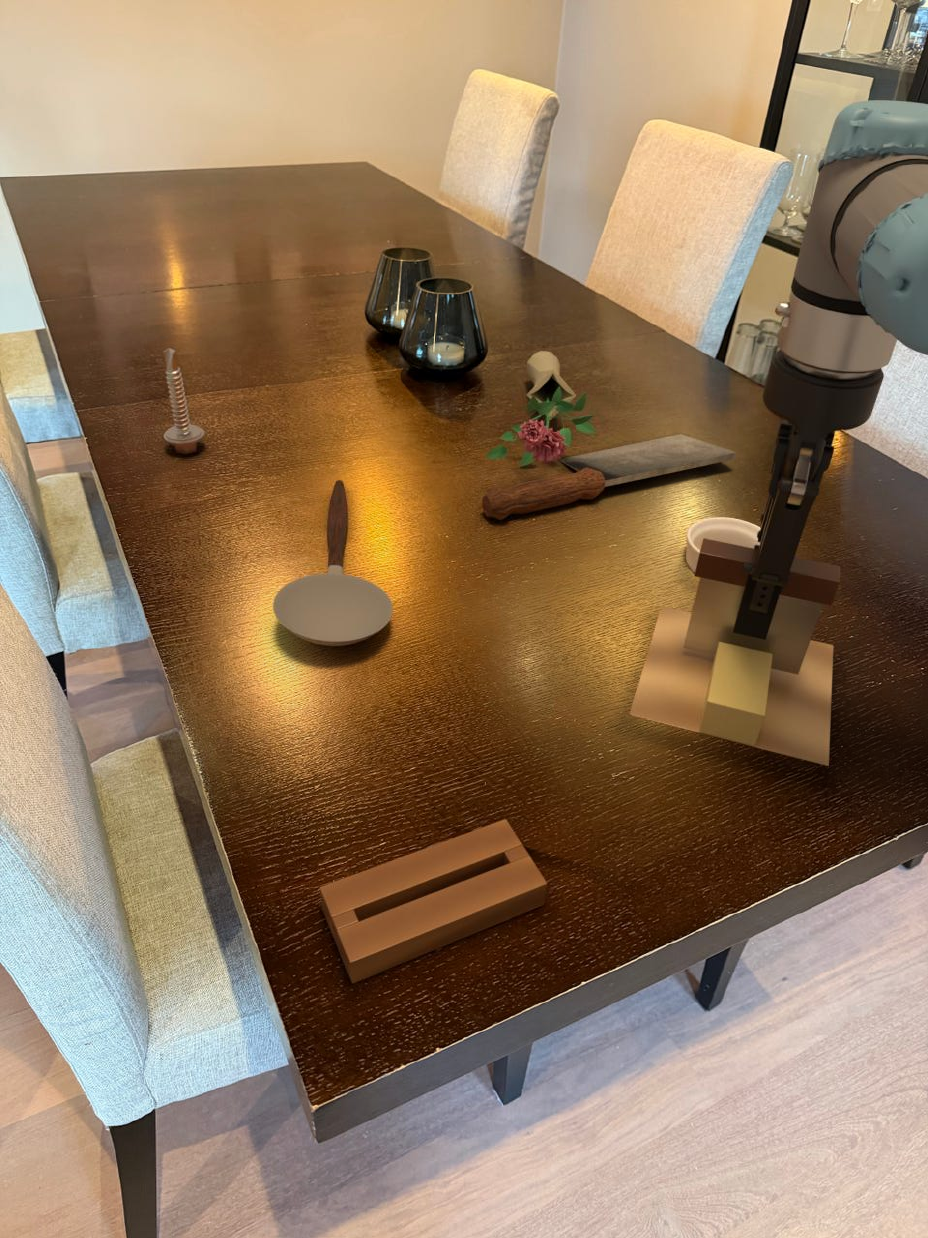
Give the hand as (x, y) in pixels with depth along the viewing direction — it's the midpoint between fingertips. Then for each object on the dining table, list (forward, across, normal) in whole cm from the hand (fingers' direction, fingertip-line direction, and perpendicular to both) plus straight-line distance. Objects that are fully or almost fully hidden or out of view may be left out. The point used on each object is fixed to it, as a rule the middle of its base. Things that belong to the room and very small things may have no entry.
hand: (751, 622), depth 77 cm
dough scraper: (+4, 0, 0) cm, 4 cm away
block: (+7, +32, -17) cm, 36 cm away
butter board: (+7, +2, 0) cm, 7 cm away
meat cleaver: (+7, -31, -20) cm, 38 cm away
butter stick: (+5, +6, 0) cm, 8 cm away
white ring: (+7, -16, -3) cm, 18 cm away
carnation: (+4, -55, -33) cm, 64 cm away
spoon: (+7, -3, -41) cm, 42 cm away
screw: (+7, -18, -69) cm, 72 cm away
